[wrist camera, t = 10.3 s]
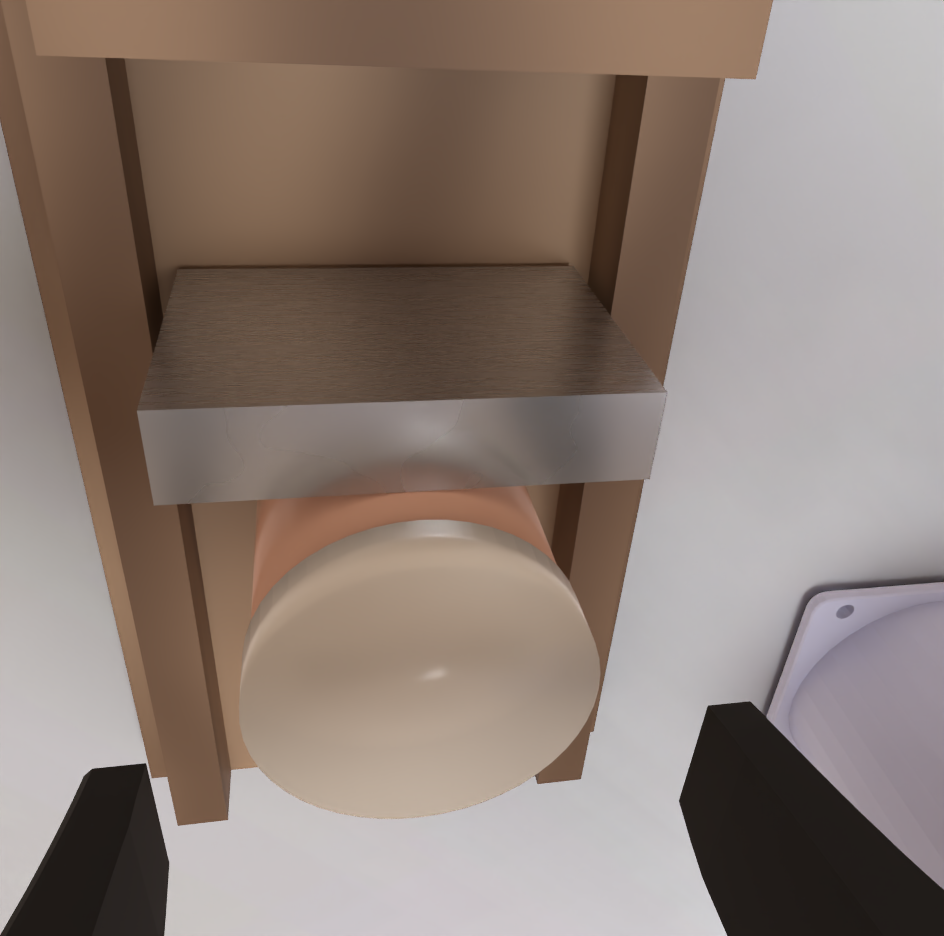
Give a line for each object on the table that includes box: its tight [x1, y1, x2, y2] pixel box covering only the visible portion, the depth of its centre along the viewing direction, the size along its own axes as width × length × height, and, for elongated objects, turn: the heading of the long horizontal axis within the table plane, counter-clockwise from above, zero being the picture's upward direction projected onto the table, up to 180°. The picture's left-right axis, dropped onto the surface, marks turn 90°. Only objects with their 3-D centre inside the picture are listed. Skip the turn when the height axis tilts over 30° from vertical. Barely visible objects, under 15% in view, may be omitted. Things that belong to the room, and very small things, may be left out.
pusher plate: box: [137, 266, 667, 505], centre depth 14 cm, size 7×2×5 cm, turn 85°
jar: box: [239, 486, 600, 819], centre depth 15 cm, size 5×5×7 cm
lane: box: [0, 0, 773, 826], centre depth 16 cm, size 12×21×6 cm, turn 175°
